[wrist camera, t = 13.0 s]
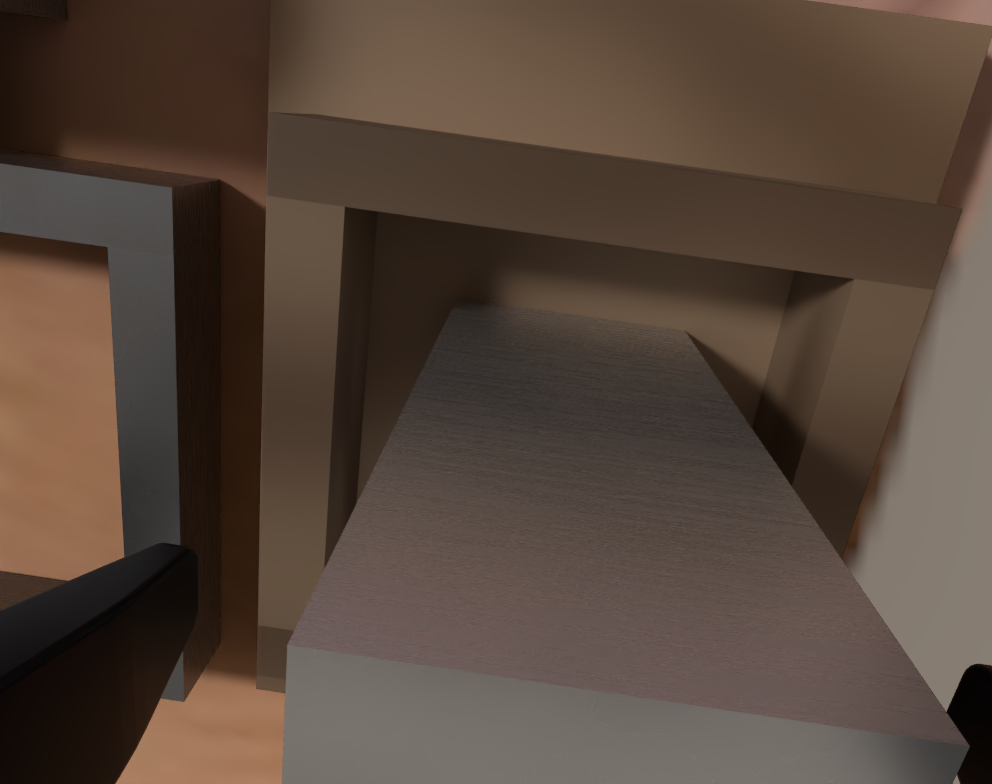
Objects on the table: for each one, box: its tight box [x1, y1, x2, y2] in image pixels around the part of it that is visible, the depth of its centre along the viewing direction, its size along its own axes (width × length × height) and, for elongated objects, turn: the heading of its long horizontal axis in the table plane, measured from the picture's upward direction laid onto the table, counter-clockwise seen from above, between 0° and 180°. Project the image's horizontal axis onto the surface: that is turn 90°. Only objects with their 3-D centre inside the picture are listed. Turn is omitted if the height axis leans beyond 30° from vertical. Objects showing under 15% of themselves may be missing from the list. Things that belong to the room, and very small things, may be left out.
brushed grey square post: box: [282, 298, 970, 784], centre depth 10 cm, size 4×4×10 cm
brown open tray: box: [256, 0, 992, 693], centre depth 14 cm, size 16×12×4 cm
